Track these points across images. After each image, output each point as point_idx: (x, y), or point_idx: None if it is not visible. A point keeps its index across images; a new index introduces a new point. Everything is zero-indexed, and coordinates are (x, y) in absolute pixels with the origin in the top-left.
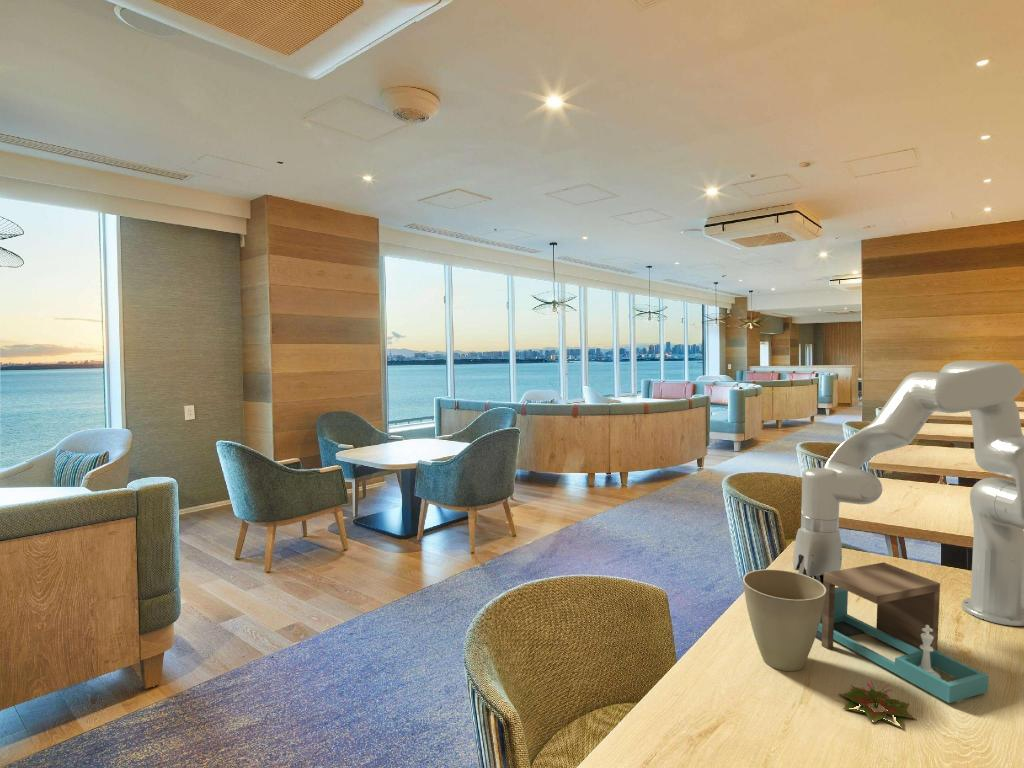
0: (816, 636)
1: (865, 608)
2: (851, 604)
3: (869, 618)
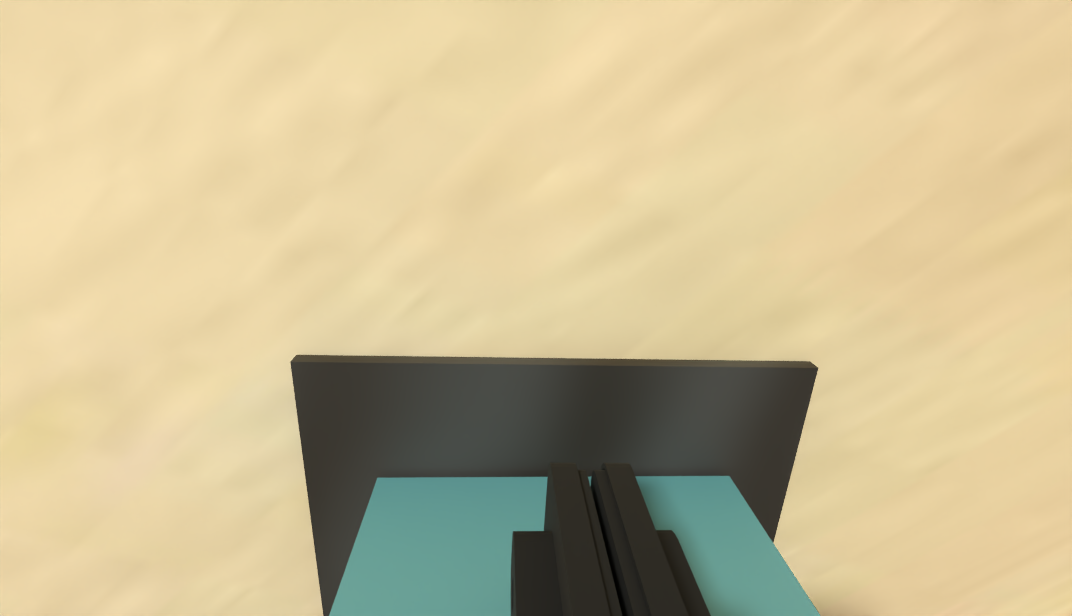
0: (322, 605)
1: (1067, 404)
2: (1066, 319)
3: (912, 513)
